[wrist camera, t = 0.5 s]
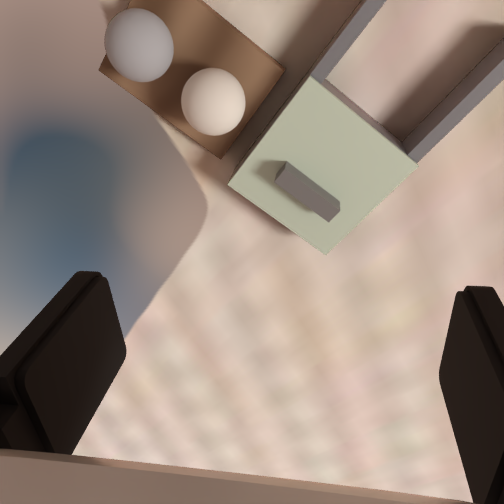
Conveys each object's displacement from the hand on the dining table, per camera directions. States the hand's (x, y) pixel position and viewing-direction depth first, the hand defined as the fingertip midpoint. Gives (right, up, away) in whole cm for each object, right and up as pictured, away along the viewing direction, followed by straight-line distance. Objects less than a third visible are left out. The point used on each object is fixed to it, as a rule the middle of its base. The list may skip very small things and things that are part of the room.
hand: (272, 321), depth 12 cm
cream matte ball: (-4, +15, +26) cm, 30 cm away
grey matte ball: (-10, +19, +25) cm, 33 cm away
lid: (+6, +9, +29) cm, 31 cm away
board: (-6, +19, +29) cm, 35 cm away
